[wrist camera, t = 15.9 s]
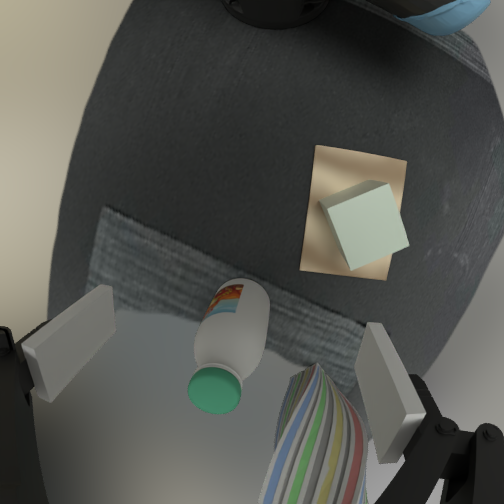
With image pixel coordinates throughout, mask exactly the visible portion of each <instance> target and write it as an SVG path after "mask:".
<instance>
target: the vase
mask: <svg viewBox="0 0 504 504" xmlns="http://www.w3.org/2000/svg"><path fill="white" fill-rule="evenodd" d="M367 453H368V439H367V433H366V429H365V425H364V423H363V421H362V419H361V417H360V415H359V414H358V412H357V411H356V409H355V408H354V407H353V405H352V404H351V403H350V402H349V401H348V399H347V398H346V397H345V396H344V395H343V394H342V393H341V392H340V391H339V389H338V388H337V387H336V386H335V384H334V382H333V381H332V380H331V378H330V377H329V376H328V375H327V374H325V371H324V370H323V369H322V368H321V366H320V365H319V364H318V363H315V364H314V365H312V366H310V367H308V368H307V369H305V370H304V371H301V372H299V373H298V374H297V375H294V376H292V377H291V378H290V383H289V386H288V389H287V392H286V394H285V397H284V400H283V403H282V406H281V410H280V413H279V418H278V422H277V427H276V434H275V440H274V455H273V457H272V460H271V462H270V465H269V468H268V471H267V475H266V478H265V481H264V484H263V487H262V491H261V494H260V497H259V501H258V504H368V500H367V493H366V461H367Z"/></svg>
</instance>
